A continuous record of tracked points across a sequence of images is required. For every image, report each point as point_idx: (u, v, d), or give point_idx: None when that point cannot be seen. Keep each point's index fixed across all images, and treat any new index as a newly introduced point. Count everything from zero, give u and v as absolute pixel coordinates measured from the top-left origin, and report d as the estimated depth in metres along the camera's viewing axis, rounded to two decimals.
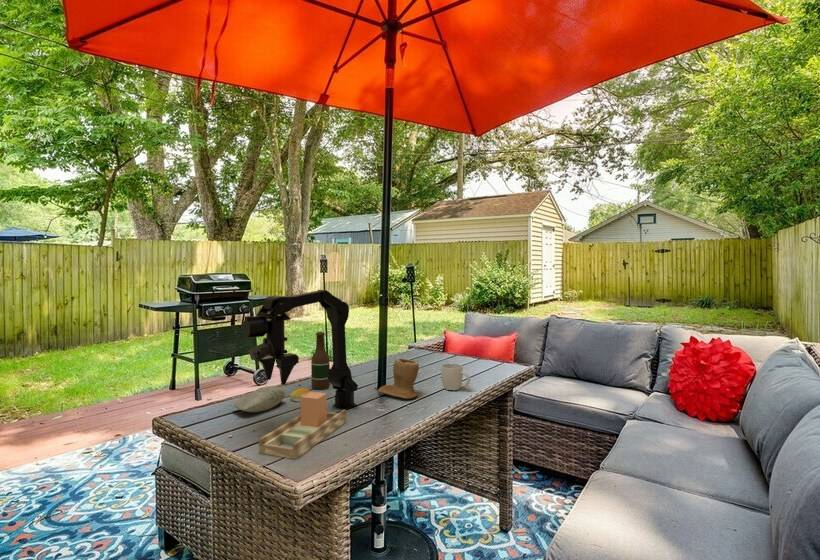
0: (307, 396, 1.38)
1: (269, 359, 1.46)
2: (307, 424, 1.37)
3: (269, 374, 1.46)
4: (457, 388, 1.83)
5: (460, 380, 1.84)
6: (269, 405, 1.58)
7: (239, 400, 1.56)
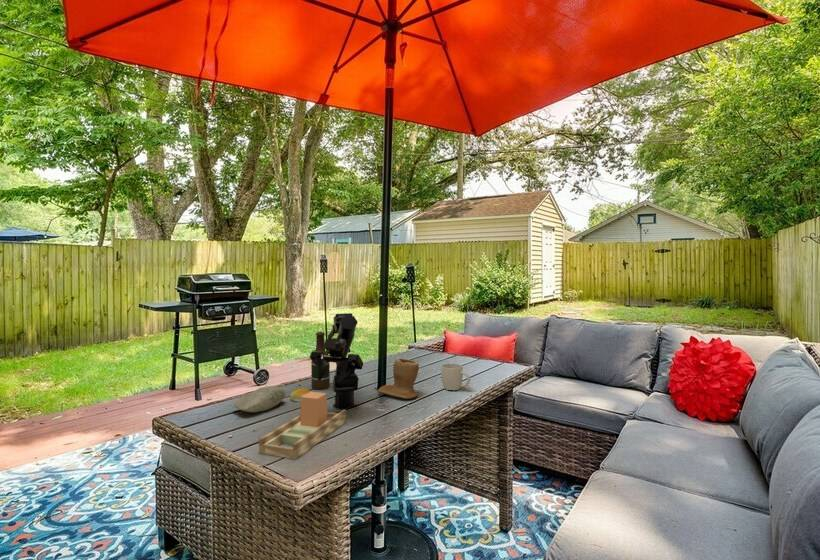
0: (307, 396, 1.38)
1: (324, 364, 1.54)
2: (307, 424, 1.37)
3: (321, 376, 1.51)
4: (457, 388, 1.83)
5: (460, 380, 1.84)
6: (269, 405, 1.58)
7: (239, 400, 1.57)
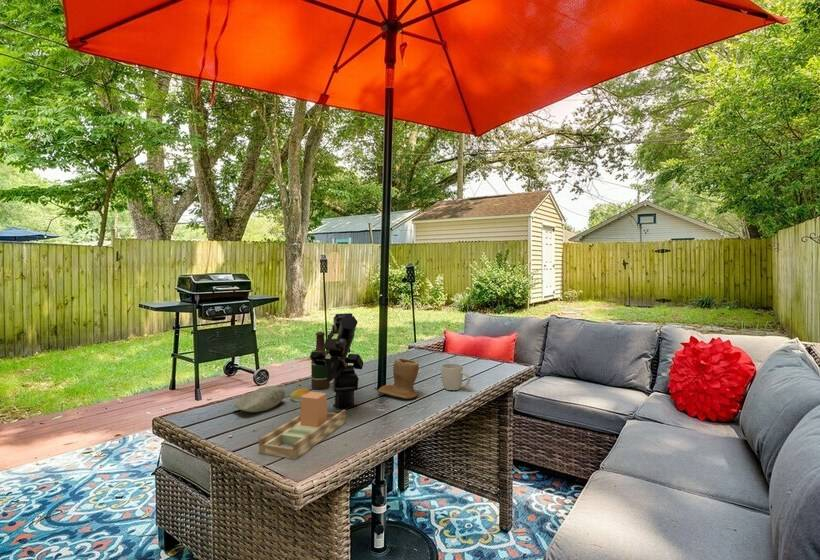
0: (307, 396, 1.38)
1: (333, 365, 1.53)
2: (307, 424, 1.37)
3: None
4: (457, 388, 1.83)
5: (460, 380, 1.84)
6: (269, 405, 1.58)
7: (239, 400, 1.57)
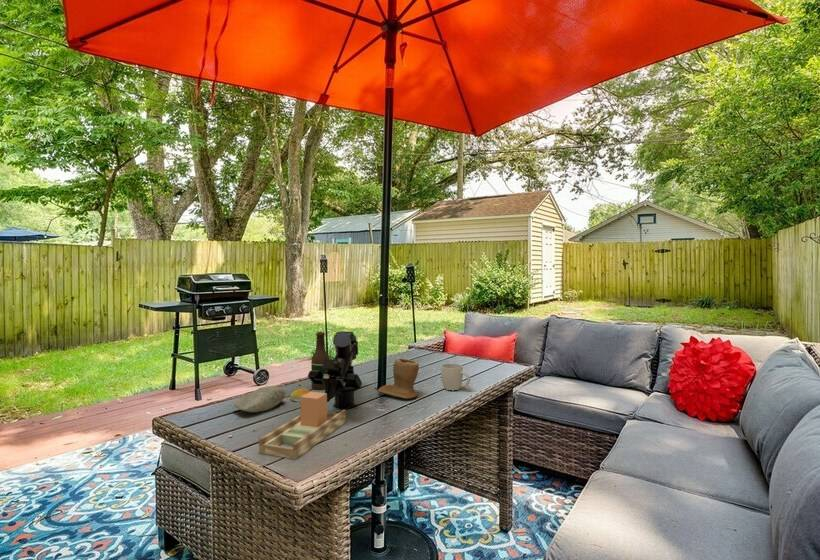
0: (307, 396, 1.38)
1: (331, 384, 1.52)
2: (307, 424, 1.37)
3: None
4: (457, 388, 1.83)
5: (460, 380, 1.84)
6: (269, 405, 1.58)
7: (239, 400, 1.57)
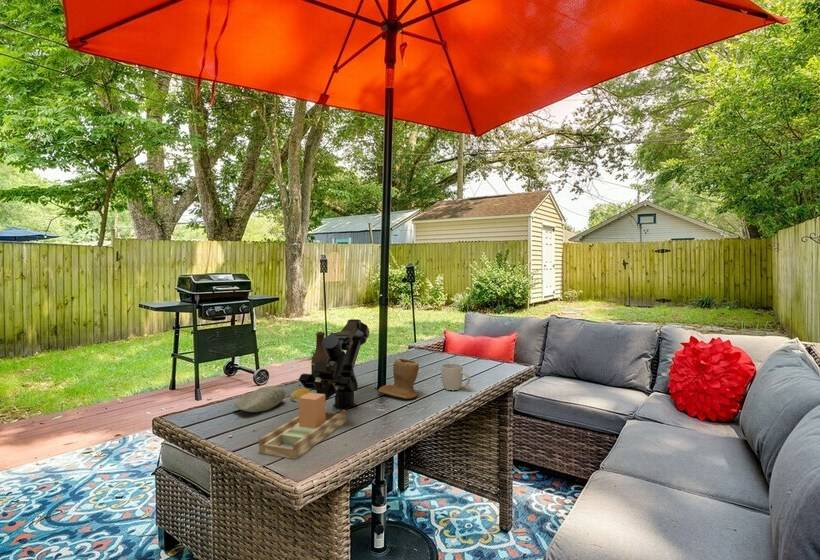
0: (305, 396, 1.37)
1: (323, 388, 1.46)
2: (305, 425, 1.36)
3: None
4: (457, 388, 1.83)
5: (460, 380, 1.84)
6: (270, 405, 1.58)
7: (240, 400, 1.57)
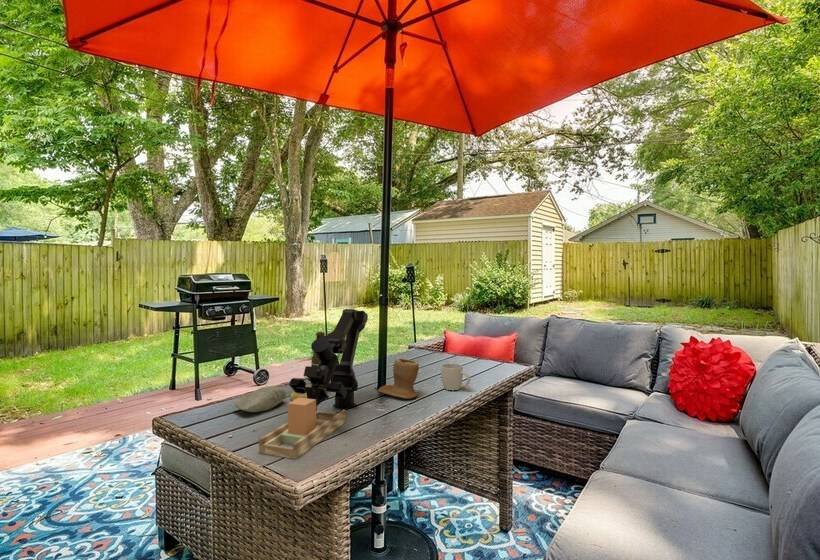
0: (294, 402, 1.32)
1: None
2: (295, 432, 1.30)
3: None
4: (457, 388, 1.83)
5: (460, 380, 1.84)
6: (270, 405, 1.58)
7: (240, 400, 1.57)
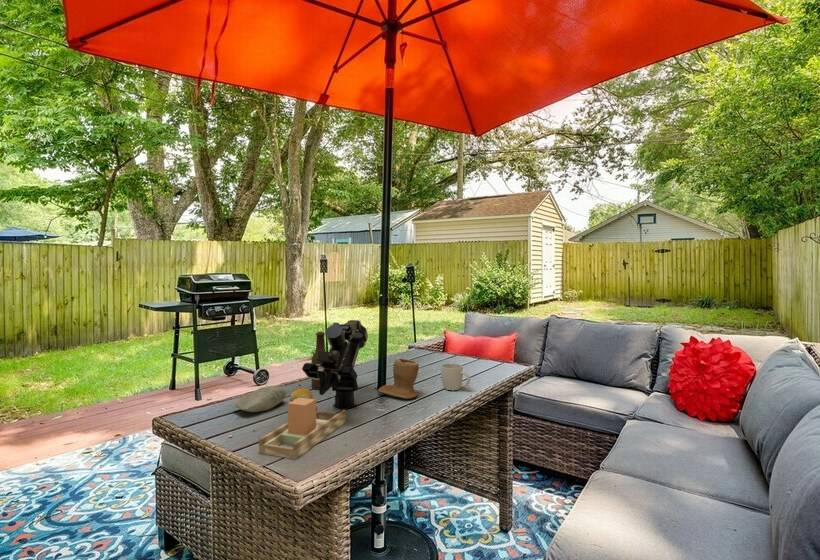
0: (294, 402, 1.32)
1: None
2: (295, 432, 1.30)
3: None
4: (457, 388, 1.83)
5: (460, 380, 1.84)
6: (270, 405, 1.58)
7: (240, 400, 1.57)
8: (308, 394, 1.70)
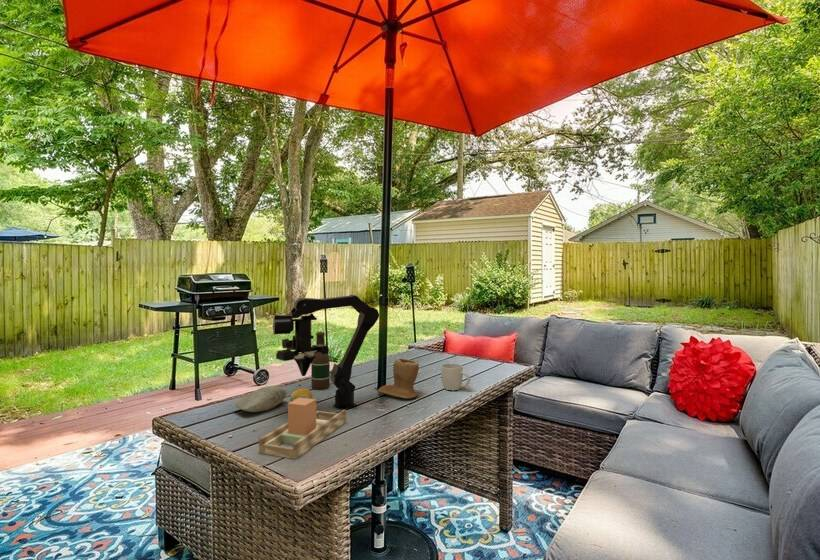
0: (294, 402, 1.32)
1: (306, 357, 1.57)
2: (295, 432, 1.30)
3: None
4: (457, 388, 1.83)
5: (460, 380, 1.84)
6: (270, 405, 1.58)
7: (240, 400, 1.57)
8: (308, 394, 1.70)
